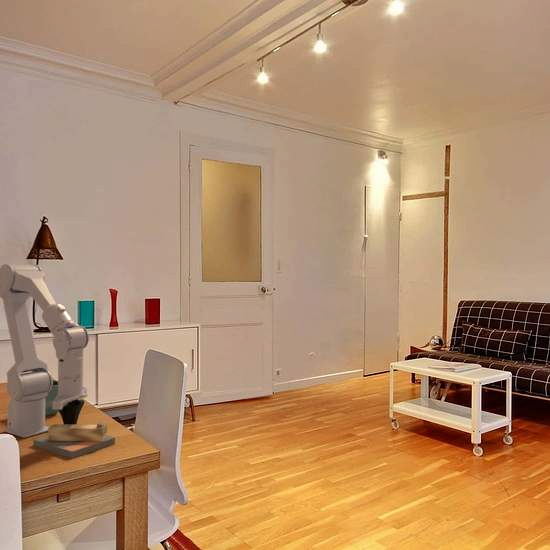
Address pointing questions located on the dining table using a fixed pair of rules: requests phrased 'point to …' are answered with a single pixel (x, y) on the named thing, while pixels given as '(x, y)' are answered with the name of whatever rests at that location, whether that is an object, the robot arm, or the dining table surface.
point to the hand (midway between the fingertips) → (70, 431)
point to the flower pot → (51, 399)
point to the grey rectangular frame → (72, 446)
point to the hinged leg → (77, 432)
